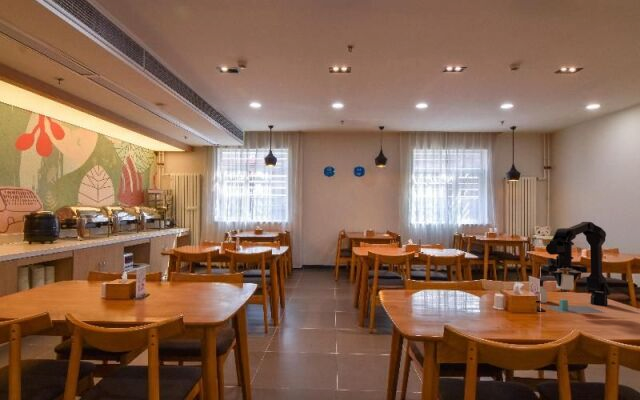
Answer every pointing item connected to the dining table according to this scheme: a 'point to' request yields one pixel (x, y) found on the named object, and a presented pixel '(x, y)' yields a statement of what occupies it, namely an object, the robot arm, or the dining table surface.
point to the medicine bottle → (543, 292)
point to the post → (563, 304)
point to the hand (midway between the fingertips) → (564, 286)
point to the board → (576, 309)
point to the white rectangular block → (566, 282)
